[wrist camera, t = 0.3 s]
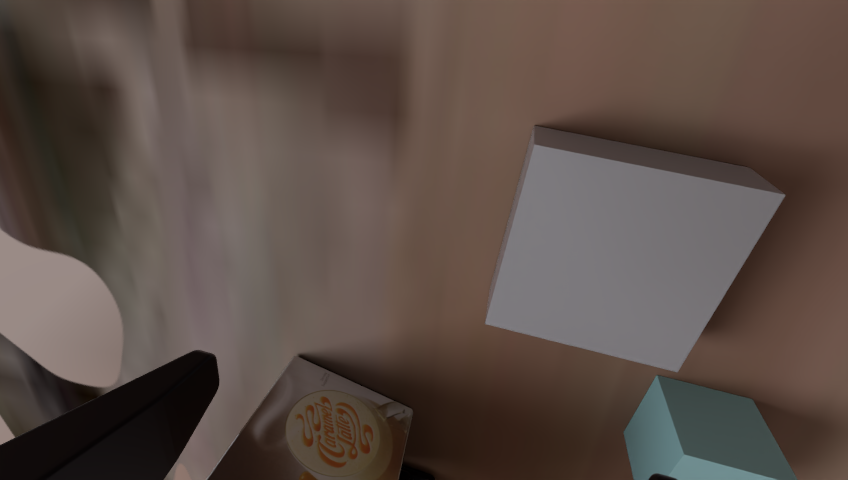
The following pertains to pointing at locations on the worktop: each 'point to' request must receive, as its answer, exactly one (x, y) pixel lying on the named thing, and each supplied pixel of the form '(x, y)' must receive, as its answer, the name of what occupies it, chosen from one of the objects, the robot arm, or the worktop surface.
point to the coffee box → (318, 431)
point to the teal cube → (701, 436)
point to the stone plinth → (623, 245)
